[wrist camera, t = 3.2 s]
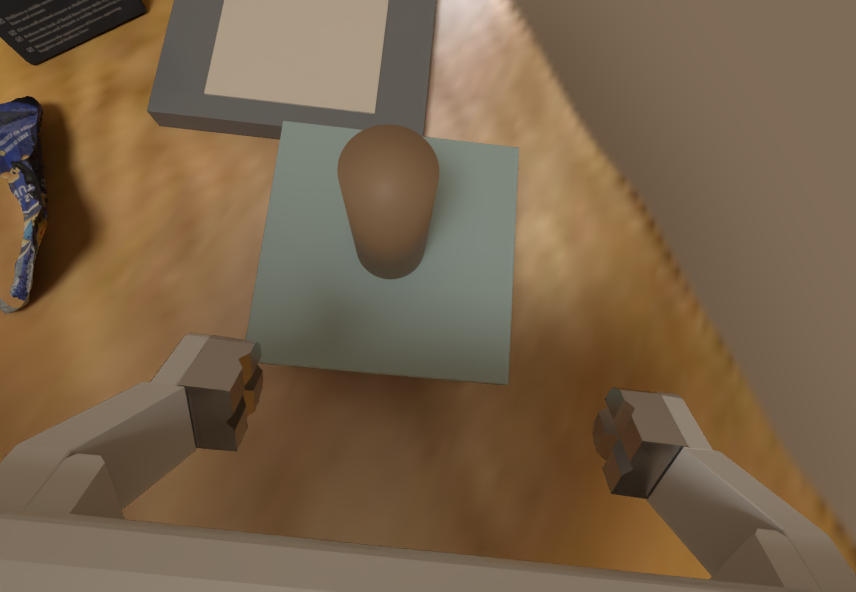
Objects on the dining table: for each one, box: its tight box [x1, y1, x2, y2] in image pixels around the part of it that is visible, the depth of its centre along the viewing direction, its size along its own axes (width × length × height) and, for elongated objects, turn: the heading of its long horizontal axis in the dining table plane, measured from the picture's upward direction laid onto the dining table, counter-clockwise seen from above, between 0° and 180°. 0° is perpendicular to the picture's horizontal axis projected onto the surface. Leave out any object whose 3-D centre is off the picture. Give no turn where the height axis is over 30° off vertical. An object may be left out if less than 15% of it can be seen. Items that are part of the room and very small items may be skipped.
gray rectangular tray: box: [147, 0, 436, 139], centre depth 30 cm, size 16×13×2 cm
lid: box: [246, 121, 519, 385], centre depth 18 cm, size 11×11×8 cm
